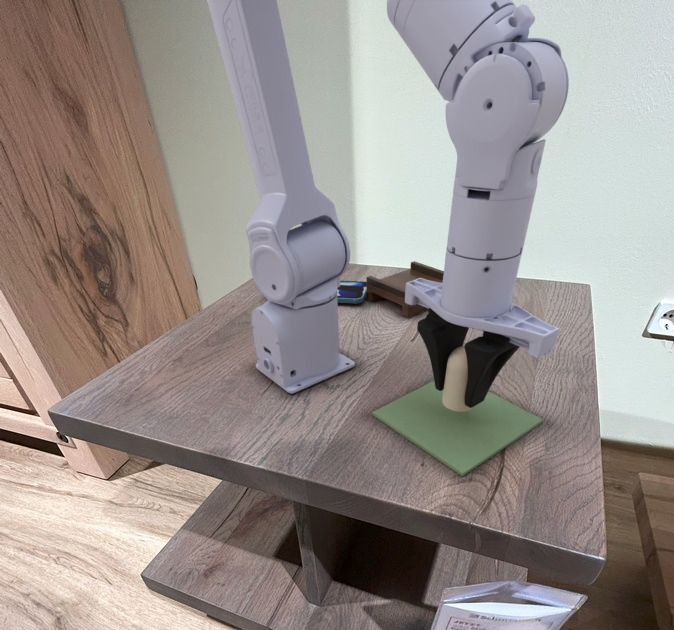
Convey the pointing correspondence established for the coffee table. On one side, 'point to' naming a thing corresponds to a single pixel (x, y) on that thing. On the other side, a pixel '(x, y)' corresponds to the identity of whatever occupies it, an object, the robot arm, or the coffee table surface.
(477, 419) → the mat
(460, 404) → the beige rounded peg
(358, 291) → the smartphone
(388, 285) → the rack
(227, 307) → the coffee table surface
